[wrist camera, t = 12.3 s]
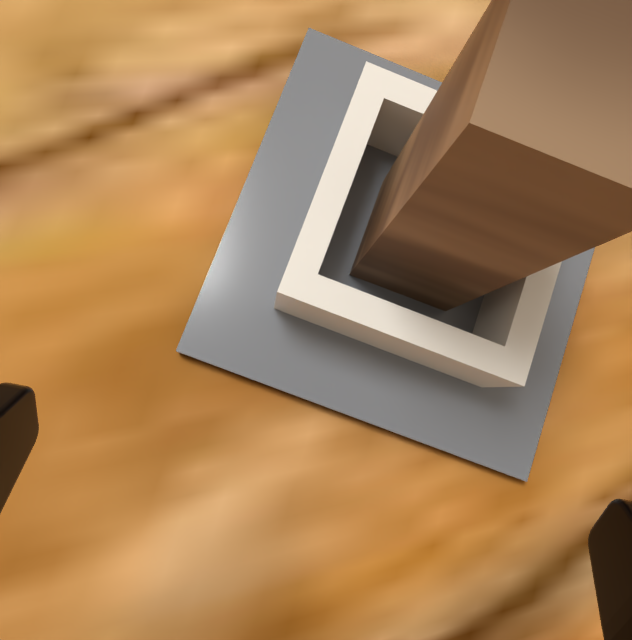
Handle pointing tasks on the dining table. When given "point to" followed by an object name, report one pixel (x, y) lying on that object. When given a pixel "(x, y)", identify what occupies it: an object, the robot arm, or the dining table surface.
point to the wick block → (511, 156)
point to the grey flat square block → (364, 297)
